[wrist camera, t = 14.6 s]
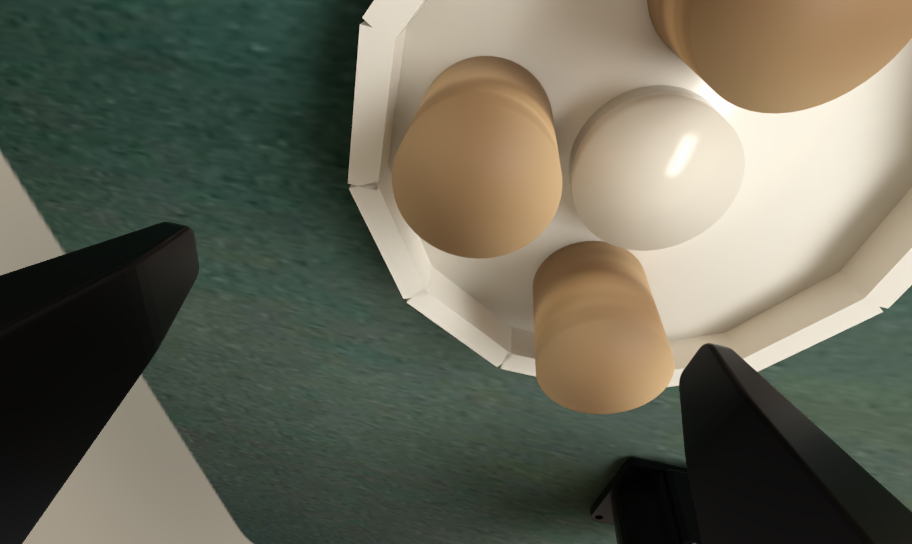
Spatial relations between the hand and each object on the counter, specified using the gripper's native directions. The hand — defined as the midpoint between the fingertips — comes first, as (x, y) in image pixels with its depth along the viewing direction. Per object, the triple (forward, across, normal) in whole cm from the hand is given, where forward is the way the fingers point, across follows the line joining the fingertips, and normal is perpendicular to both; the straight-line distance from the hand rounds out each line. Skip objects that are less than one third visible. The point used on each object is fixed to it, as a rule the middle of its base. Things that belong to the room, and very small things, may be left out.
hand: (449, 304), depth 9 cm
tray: (+10, -6, 0) cm, 12 cm away
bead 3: (+10, -6, -5) cm, 12 cm away
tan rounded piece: (+9, -6, +6) cm, 12 cm away
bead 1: (+10, 0, 0) cm, 10 cm away
